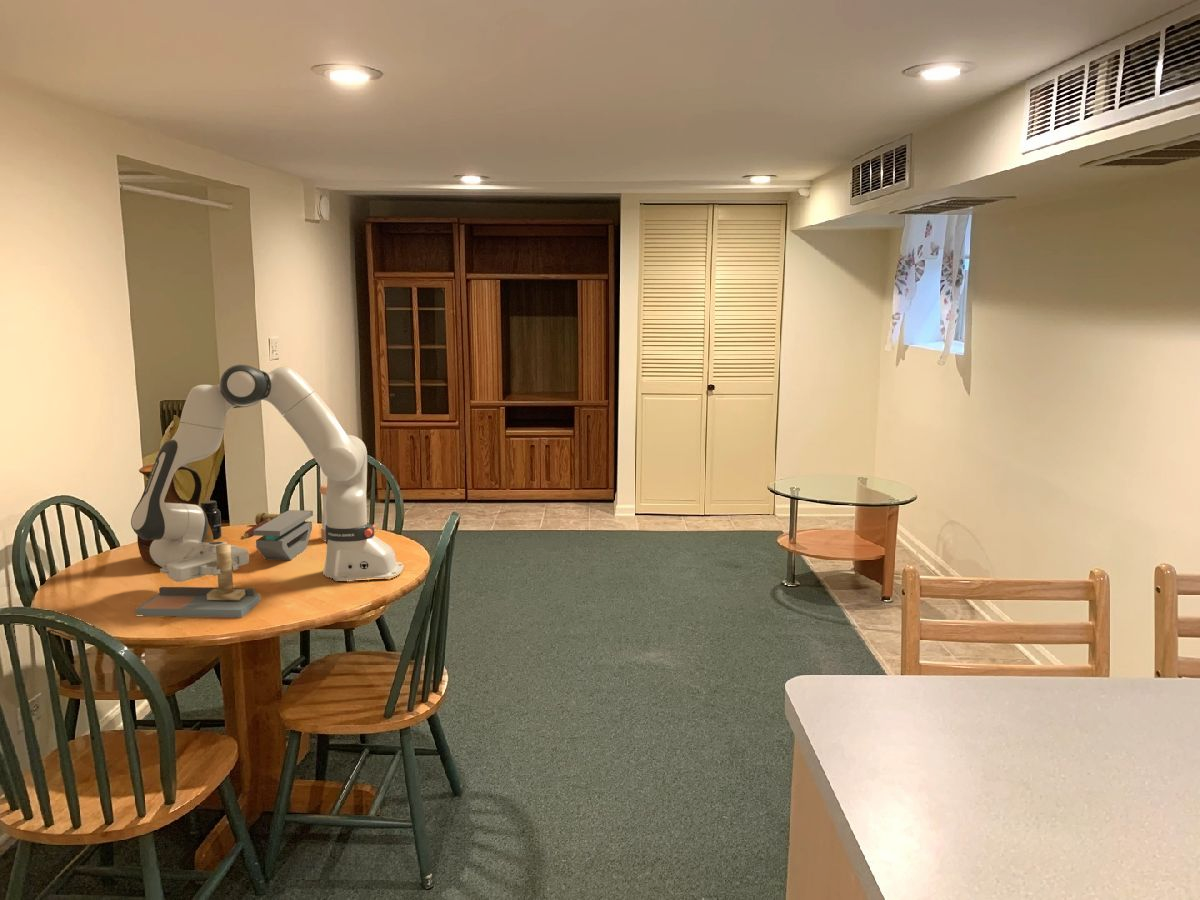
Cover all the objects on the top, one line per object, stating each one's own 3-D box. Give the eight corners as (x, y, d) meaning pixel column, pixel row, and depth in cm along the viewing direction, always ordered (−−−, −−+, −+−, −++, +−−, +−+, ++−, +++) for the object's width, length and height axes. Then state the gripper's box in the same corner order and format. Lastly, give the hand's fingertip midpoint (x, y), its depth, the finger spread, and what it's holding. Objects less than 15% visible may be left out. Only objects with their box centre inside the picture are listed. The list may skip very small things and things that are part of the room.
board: (260, 600, 228) (259, 586, 227) (241, 617, 216) (240, 602, 215) (160, 599, 227) (158, 585, 227) (135, 616, 216) (134, 601, 215)
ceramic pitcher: (131, 558, 262) (123, 460, 257) (201, 547, 276) (195, 453, 271) (150, 574, 248) (142, 470, 243) (223, 561, 261) (217, 462, 256)
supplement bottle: (220, 539, 284) (218, 503, 282) (197, 541, 282) (195, 504, 280) (223, 534, 291) (220, 499, 289) (200, 535, 289) (198, 500, 287)
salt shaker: (317, 538, 287) (315, 481, 284) (339, 534, 292) (336, 478, 288) (326, 543, 282) (324, 484, 278) (348, 539, 286) (346, 482, 283)
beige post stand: (245, 594, 225) (242, 544, 222) (238, 600, 221) (235, 548, 218) (214, 594, 225) (210, 543, 222) (207, 599, 221) (203, 548, 218)
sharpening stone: (290, 543, 281) (288, 510, 280) (314, 543, 281) (312, 510, 279) (255, 566, 257) (253, 530, 255) (281, 567, 256) (279, 531, 255)
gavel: (257, 531, 284) (228, 530, 285) (258, 544, 285) (229, 543, 286) (288, 512, 304) (261, 510, 305) (289, 524, 305) (262, 523, 306)
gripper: (155, 557, 219) (187, 567, 212) (229, 539, 236) (261, 548, 229) (157, 581, 220) (188, 592, 213) (230, 562, 237) (262, 571, 230)
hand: (226, 569), depth 221 cm, fingers closed on beige post stand, 3 cm apart
